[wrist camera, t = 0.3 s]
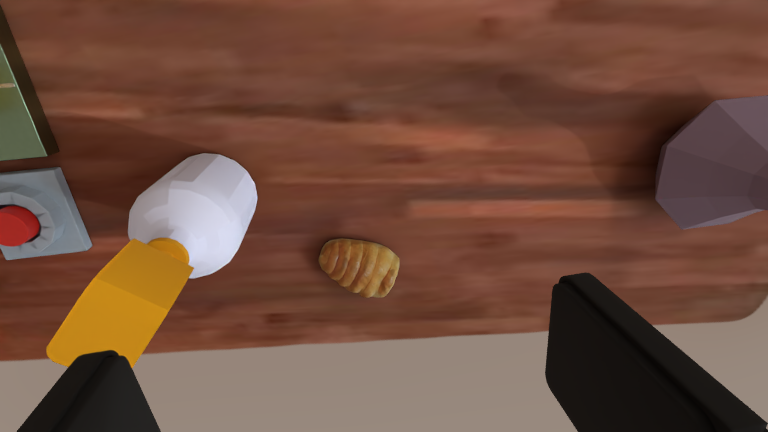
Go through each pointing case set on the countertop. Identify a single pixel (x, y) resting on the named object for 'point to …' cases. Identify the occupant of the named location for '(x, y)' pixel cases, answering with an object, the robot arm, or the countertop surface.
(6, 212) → the button
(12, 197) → the grey square piece
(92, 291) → the soap bottle
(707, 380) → the robot arm
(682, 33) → the countertop surface
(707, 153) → the flask
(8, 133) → the plate
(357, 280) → the pastry
